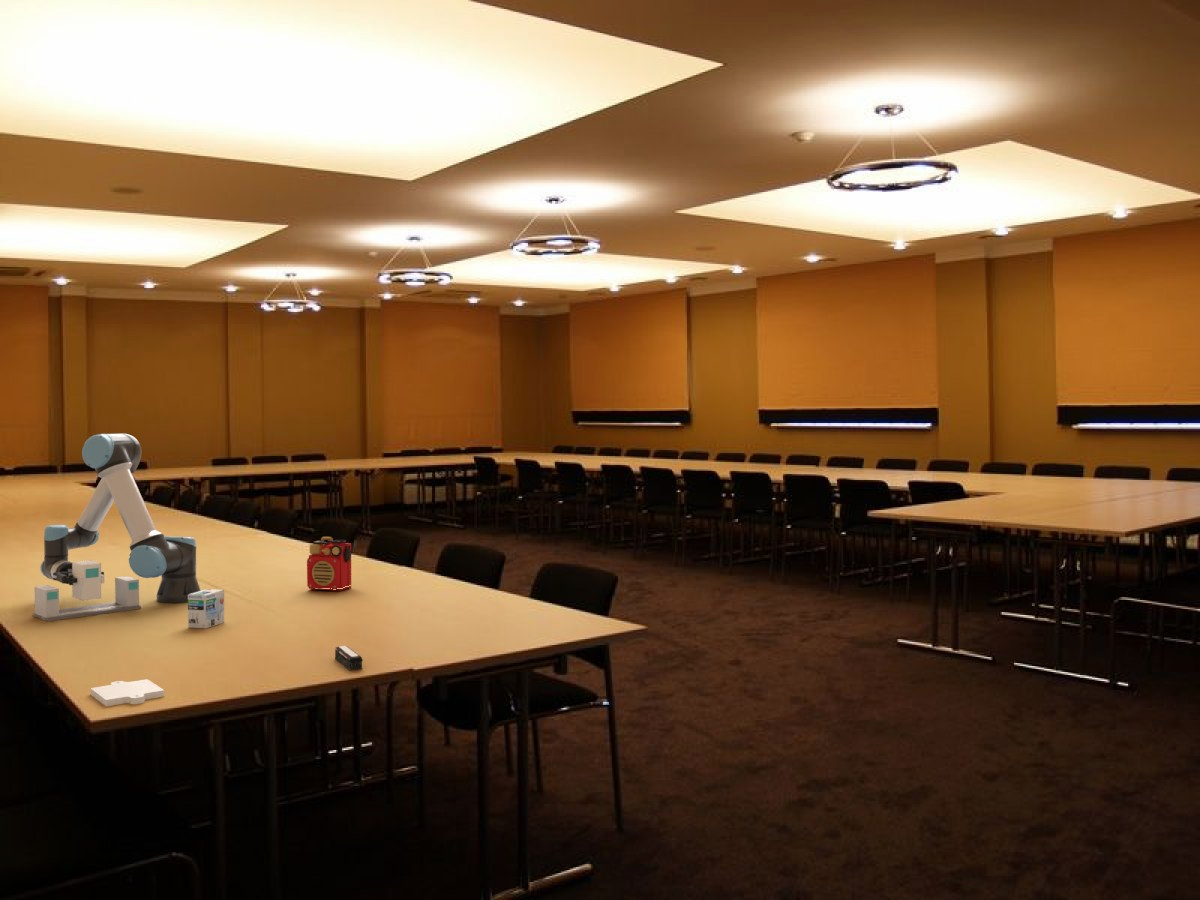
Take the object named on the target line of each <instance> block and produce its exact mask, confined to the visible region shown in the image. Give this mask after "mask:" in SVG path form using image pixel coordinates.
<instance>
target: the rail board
mask: <svg viewBox="0 0 1200 900" xmlns="http://www.w3.org/2000/svg"><path fill="white" fill-rule="evenodd" d="M140 609H142V605H140V604H139V605H136V606H129V607H127V606H124V605H120V604H117V603H115V601H114V602H106V603H98V604H92V605H85V606H84V605H83V606H78V607H77V606H76V607H68V608H62V609H60V608H59V616H55V617H48V618H45V617H43V616H40V615H37V614H35V612H33V613H32V616H33V617H35V618H37V619H39V620H43V621H45V622H54V621H59V620H68V619H75V618H83V617H89V616H97V615H103V614H112V613H117V612H118V613H119V612H126V611H133V610H140Z"/></svg>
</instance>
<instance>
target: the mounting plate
mask: <svg viewBox="0 0 1200 900" xmlns="http://www.w3.org/2000/svg"><path fill="white" fill-rule="evenodd" d="M90 695H91V696H92V697H93V698H94V699H96V700H97V701H98V702H100V704H102V705H103V706H104V707H111V706H116V705H117V706H118V705H123V704H130V705H139V704H143V703H145V700H151V699H158V698H162V697H165V690H164V689H163V688H162V687H160V686H159V685H157V684H155V683H154V682H152V681H151V680H149V679H148V678H145V679H140V680H135V681H125V680H116V681H112V682H110V684H109V685H108V684H107V685H103V686H96V687H91V688H90Z"/></svg>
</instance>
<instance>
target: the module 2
mask: <svg viewBox="0 0 1200 900" xmlns="http://www.w3.org/2000/svg"><path fill="white" fill-rule="evenodd" d="M114 579H115V580H114V582H115V584H114V585H115V587H114V590H115V591H114V594H115V597H114V599H115V600H114V602H115V603H117V604H120V605H124V606H127V607H129V606H136V605H140V580H139V578H135V577H131V576H126V575H125V576H117V577H114Z"/></svg>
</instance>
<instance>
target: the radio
mask: <svg viewBox="0 0 1200 900" xmlns="http://www.w3.org/2000/svg"><path fill="white" fill-rule="evenodd" d="M326 541H327V542H326ZM306 585H307V588H308V589H309V590H314V591H315V590H317V589H314V588H330V589H318V590H319V591H321V590H323V591H334V590H333V589H336V590H335V592H336V591H338V592H341V591H345V590H346V589H347V588H350V589H352V543H349V542H347V540H345V539H335V540H334V538H333V537H332V536H322V537H321V538H320V540H313V542H312V543H310V544H309V555H308V558H307V560H306ZM349 585H351V586H349ZM345 586H349V587H345ZM343 587H345V588H343ZM331 588H332V589H331ZM337 588H343V589H337ZM347 590H348V589H347Z"/></svg>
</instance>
